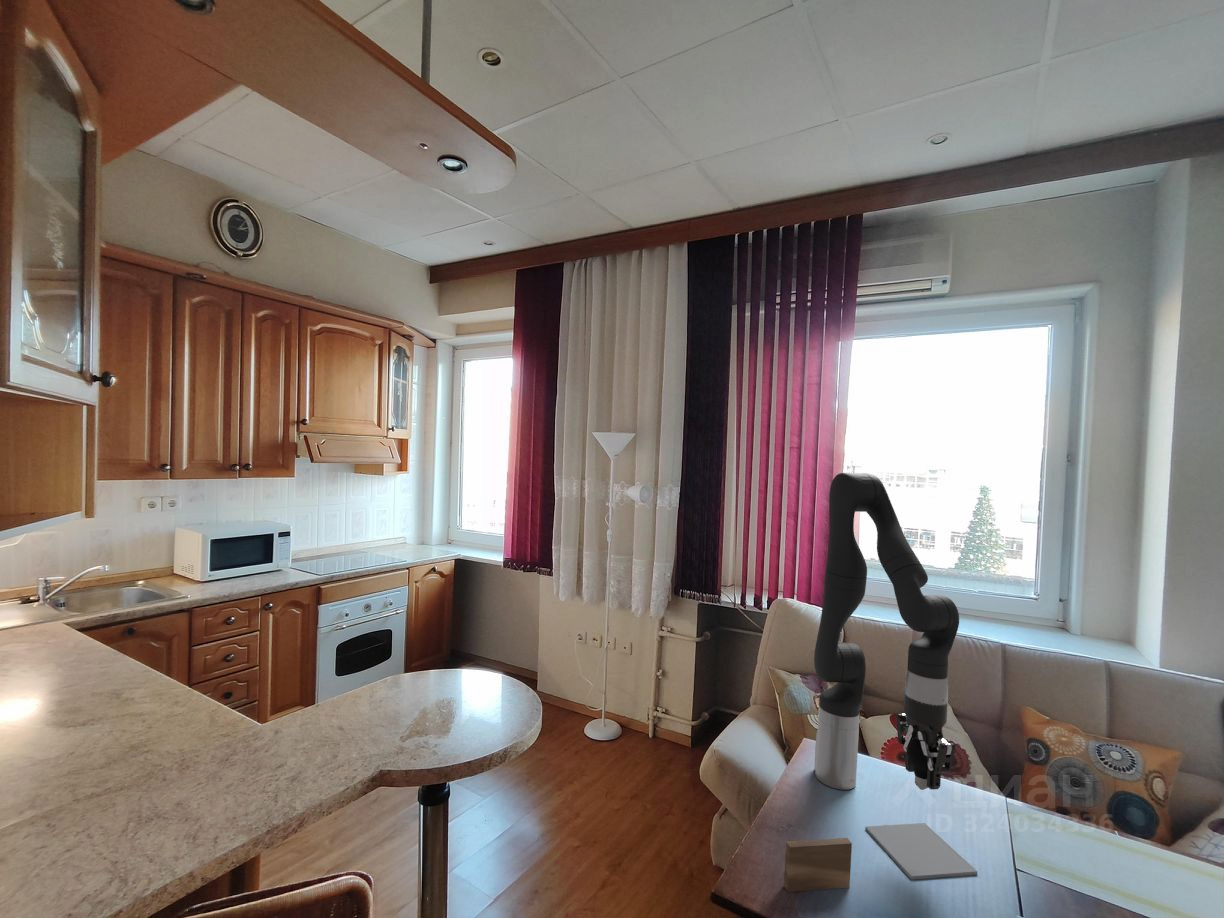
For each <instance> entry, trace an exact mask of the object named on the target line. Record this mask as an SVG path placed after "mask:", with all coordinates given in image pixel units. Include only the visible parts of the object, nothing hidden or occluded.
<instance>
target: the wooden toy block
mask: <svg viewBox="0 0 1224 918" xmlns="http://www.w3.org/2000/svg"><path fill="white" fill-rule="evenodd" d="M852 846H853V843H852V842H851V840H850V839H849V838H848V837H839V838H837V837H836V838H821V839H820V838H819V839H818V838H817V839H805V840H803V839H802V840H788V841H787V840H786V841H785V851H784V852H785V853H784V854H785V855H784V874H783V887H784V889H785V891H787V893H795V892H796V893H797V892H808V891H821V890H831V889H830V888H833V889H832V890H834V889H835V888H836V889H845V888H846V889H847V888H851V887H850V885H851V883H850V882H851V867H852V866H851V865H852V851H853V850H852V848H853V847H852Z"/></svg>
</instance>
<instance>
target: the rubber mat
mask: <svg viewBox="0 0 1224 918" xmlns="http://www.w3.org/2000/svg"><path fill="white" fill-rule="evenodd" d="M864 829H866V830H867V831H868V832H869V833H870V834H871V835H870V834H869V833H868V832H867V833H868V834H869V835H870V837H872V839H874V841H877V842H878V843H879V844H878V843H877V842H876V843H877V844H878V845H879V846H880V847H881V848H882V849H883V850H884V852H886V854H887V855H888V856H889V857H890V858H891V859H892V860H893V861H894V863H895V864H896V865H897V866H898V867H899V868H900V869H901V870H902V871H903V872H904V874H906V875H907V877H908V878H909V879H910V880H921V879H923V880H924V879H925V880H926V879H936V878H948V877H949V878H951V877H961V876H962V877H964V876H975V875H978V870H977V869H975V867H974V866H972V865H971V864H970V863H969V862H968V861H967V860H966V859H965V858H963V857H962V855H960V854H959V853H958V852H957V851H956V850H955V849H954V848H953V847H951V846H950V844H949V843H947V842H946V841H945V840H944V839H943V838H942V837H940V835H938V834H937V833H936V832H935V831H934V830H933V829H932V828H931V827H930V826H929V825H928V824H926V823H925V822H921V823H904V824H903V823H902V824H901V823H899V824H888V825H872V826H871V825H869V826H867V825H866V826H865V828H864Z"/></svg>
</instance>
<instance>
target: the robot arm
mask: <svg viewBox="0 0 1224 918" xmlns="http://www.w3.org/2000/svg"><path fill="white" fill-rule="evenodd" d="M828 500H829V501H828V503H829V504H828V507H829V508H828V515H829V516H828V520H829V521H828V522H829V523H828V527H829V528H828V545H827V557H826V562H825V563H826V565H825V573H824V583H823V584H824V585H823V597H822V607H821V608H822V609H821V615H820V616H821V617H820V622H819V627H818V631H817V636H816V637H817V638H816V643H815V648H814V657H813V664H814V670H815V673H816V675H817V677H818V679H820V680H821V681H823V682H826V683H836V684H834V685H833V686H832V687H830V688H827V689H824V690H823V691H821V693H820V694H819V697H818V717H817V718H818V721H817V731H816V733H815V746H814V747H815V748H814V750H815V752H814V768H813V769H814V770H815V771H814V773H815V777H816V779H817V780H819V782H821V783H822V784H823V785H825V786H828V787H830V788H833V789H837V790H851V789H854V788H855V787H856V784H857V772H858V771H857V770H858V752H859V732H860V714H861V713H860V710H861V707H862V705H863V700H864V690H865V682H866V670H867V664H866V663H867V662H866V657H865V654H864V652H863V650H862V648H861V646H859V644H857V643H855V642H841V641H840V637H841V633H842V630H843V628H844V626H845V624H846V623H847V621H848V620H849V618H850V617H851V616H852V615H853V614H854V612H855V611H856V610H857V608H858V607H859V606H860V604H861V603H862V601H863V599H864V596H865V594H866V588H867V578H868V567H867V562H866V559H865V557H864V555H863V552H862V551H861V549H860V546H859V545H858V542H857V540H856V536H855V531H854V530H855V526H854V523H855V514H856V513H857V512H861V513H862V512H864V513H865V512H866V513H867V514H868V516H869V517H870V518H871V520H872V521H873V523H874V525H875V528H876V532H877V534H876V535H877V536H876V538H877V539H876V552H877V557H878V559H879V562H880V564H881V566H882V569H883V570H884V572H885V573H886V575H887V578H888V579H889V581H890V582H891V584H892V586H893V591H894V595H895V598H896V604H897V607H898V611H899V614H900V617H901V618H902V619H901V620H903V622H904V624H906V625H907V626H908V627H909V628H910V629H911V630H913V631H915V632H916V633H917V632H918V633H923V634H922V636H921V637H919V638H918V639H916V640H913V641H912V642H910V644H909V645H908V649H907V669H906V675H905V682H904V700H903V701H904V703H903V713H897V714H896V717H895V718H896V729H897V730H896V731H897V733H896V734H897V742H898V744H899V745H902V746H903V750H904V752H905V756H904V757H905V758H904V760H905V761H904V766H905V770H906V771H907V772H908V773H914V770H913V765H912V763H911V761H910V760H909V758H908V755H907V746H908V743H909V742H910V741H911V740H912V739H917V740H919V741H920V742H921V746H922V751H923V755H924V756H925V757H927V764H928V768H929V769H928V771H927V787H928V788H927V789H929V790H939V789H940V788H941V785H942V784H941V779H942V773H951V771H952V766H953V763H954V762H953V761H954V759H955V752H956V745H955V743H953V742H948V741H947V740H946V739H945V738H944V733H943V727H944V726H945V725H946V724H947V720H948V700H949V683H948V672H949V671H948V670H949V655H950V653H951V650H952V648H953V645H954V642H955V639H956V636H957V633H958V631H959V627H960V626H959V625H960V613H959V610H958V607H957V605H956V603H955V602H954V601H953V600H952V599H951V598H949V597H948V596H944V595H939V594H937V595H936V594H935V595H934V594H932V595H924V594H923V592H922V591H921V588H923V587H924V586H926V584H927V583H928V581H929V576H928V574H927V571H926V570H925V568H924V567H923V564H922V563H921V562H920V560H919V558H918V557H917V555H916V554H915V551H914V550H913V549H912V547H911V545H910V544H909V541H908V539H907V538H906V536H905V534H904V531H903V529H902V527H901V525H900V522H899V519H898V516H897V514H896V512H895V509H894V506H893V504H892V502H891V499H890V497H889V494H888V492H887V489H886V488H885V486H884V484H883V482H882V481H881V479H880V478H879V477H878V476H877V475H875V474H873V473H866V472H865V473H864V472H861V473H860V472H841V473H838V474H836V475H835V476H834V477H833V478H832V481H831V483H830V488H829V498H828ZM839 641H840V642H839ZM904 733H905V737H904ZM930 749H936V752H932V753H930V752H929V750H930ZM933 757H936V758H937V759H936V764H934V763H933Z"/></svg>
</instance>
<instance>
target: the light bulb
mask: <svg viewBox="0 0 1224 918" xmlns="http://www.w3.org/2000/svg"><path fill="white" fill-rule="evenodd" d="M929 752H930V753H932V752H936V749H930V750H929ZM907 755H908V758H909V760H910V761H911V763H912V765H913V770H914V772H913V774H914V784H915V785H916V786H917V787H918V788H919V790H922V791H923V790H926V789H929V788H928V787H927V771H928V769H929V768H928V764H927V757H925V756H924V755H923V751H922V746H921V742H920V741H919V740H917V739H912V740H911V741H910V742H909V743H908V746H907ZM936 759H937V758H936V757H933V763H934V764H936Z"/></svg>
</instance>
